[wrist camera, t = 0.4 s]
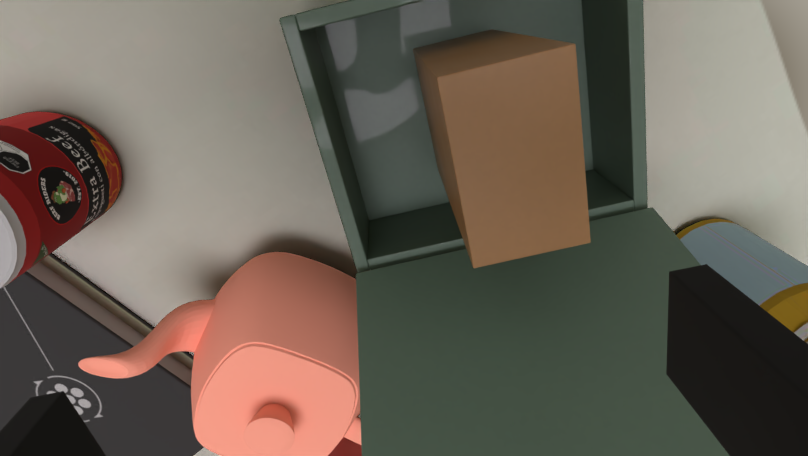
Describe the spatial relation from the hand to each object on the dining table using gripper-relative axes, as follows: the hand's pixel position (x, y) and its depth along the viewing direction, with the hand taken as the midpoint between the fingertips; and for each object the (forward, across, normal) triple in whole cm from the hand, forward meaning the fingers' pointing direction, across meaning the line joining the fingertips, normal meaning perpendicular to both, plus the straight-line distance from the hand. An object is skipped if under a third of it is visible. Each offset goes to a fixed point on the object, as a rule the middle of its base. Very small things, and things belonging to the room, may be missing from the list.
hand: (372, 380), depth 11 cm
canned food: (+24, -21, +2) cm, 32 cm away
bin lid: (+9, +6, -8) cm, 14 cm away
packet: (+24, +6, +1) cm, 24 cm away
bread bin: (+24, +6, +1) cm, 25 cm away
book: (+24, -28, -14) cm, 40 cm away
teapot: (+24, -10, -13) cm, 29 cm away
